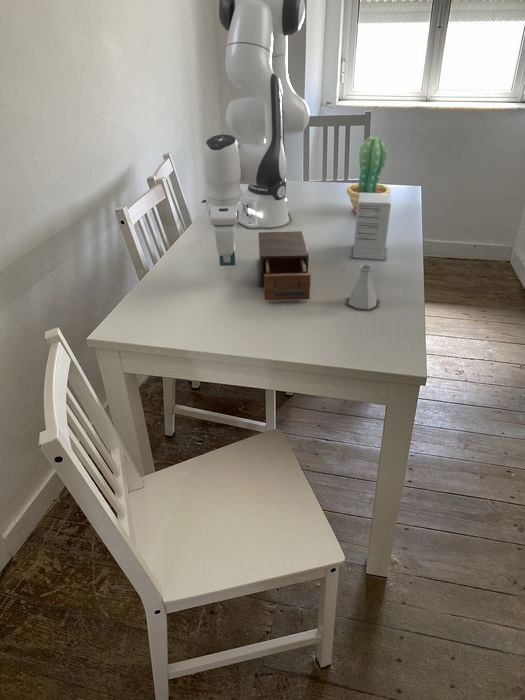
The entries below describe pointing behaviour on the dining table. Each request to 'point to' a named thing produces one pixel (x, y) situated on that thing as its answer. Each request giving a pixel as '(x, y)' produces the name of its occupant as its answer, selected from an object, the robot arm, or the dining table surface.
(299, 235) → the cabinet
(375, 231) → the supplement box
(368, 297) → the flask
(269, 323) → the dining table surface
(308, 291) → the drawer
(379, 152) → the potted cactus
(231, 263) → the block
